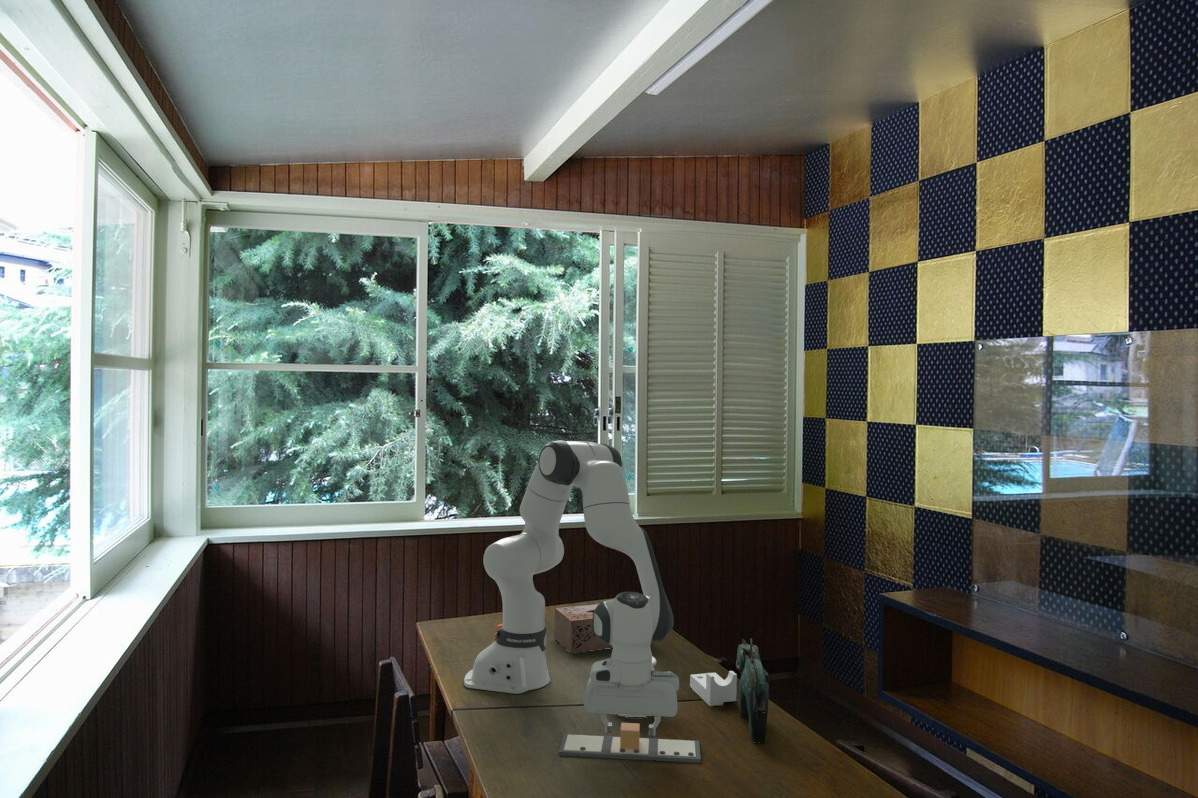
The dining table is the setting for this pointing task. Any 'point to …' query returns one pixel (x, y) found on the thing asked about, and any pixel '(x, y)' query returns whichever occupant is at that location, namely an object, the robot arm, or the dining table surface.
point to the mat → (647, 749)
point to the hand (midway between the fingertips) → (630, 733)
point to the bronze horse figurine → (753, 690)
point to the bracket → (715, 687)
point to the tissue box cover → (577, 629)
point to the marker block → (629, 736)
